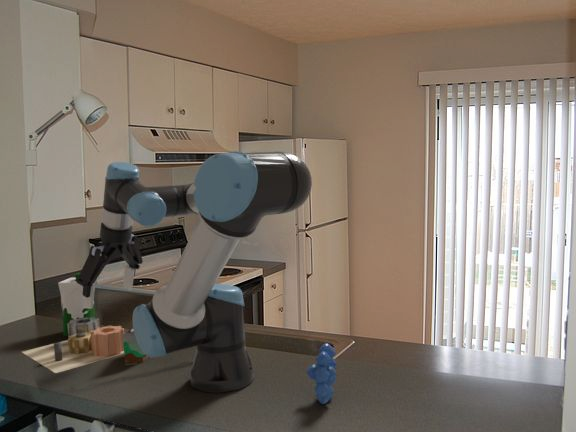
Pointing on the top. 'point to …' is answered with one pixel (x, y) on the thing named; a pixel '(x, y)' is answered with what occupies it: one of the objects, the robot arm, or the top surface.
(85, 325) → the seated gear
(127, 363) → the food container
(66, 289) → the milk carton
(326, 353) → the grapes
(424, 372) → the top surface
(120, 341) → the planet gear
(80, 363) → the carrier
